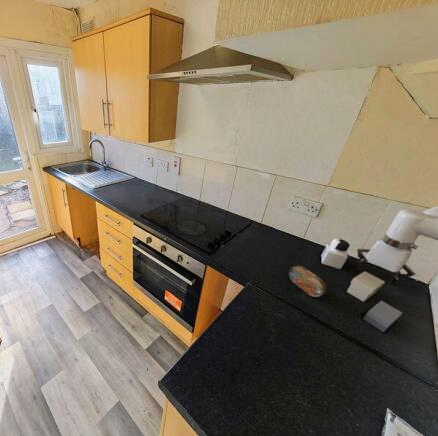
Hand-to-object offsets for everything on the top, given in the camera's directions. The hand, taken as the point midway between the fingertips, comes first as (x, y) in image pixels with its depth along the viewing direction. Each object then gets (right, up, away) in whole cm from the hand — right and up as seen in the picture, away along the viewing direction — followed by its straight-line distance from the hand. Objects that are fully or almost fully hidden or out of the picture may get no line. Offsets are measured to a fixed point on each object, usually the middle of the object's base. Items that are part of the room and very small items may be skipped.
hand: (374, 276), depth 92 cm
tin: (-25, -7, +7) cm, 26 cm away
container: (0, +1, +22) cm, 22 cm away
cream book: (-1, -4, +3) cm, 5 cm away
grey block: (-5, -15, -7) cm, 17 cm away
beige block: (-1, -8, +5) cm, 10 cm away
